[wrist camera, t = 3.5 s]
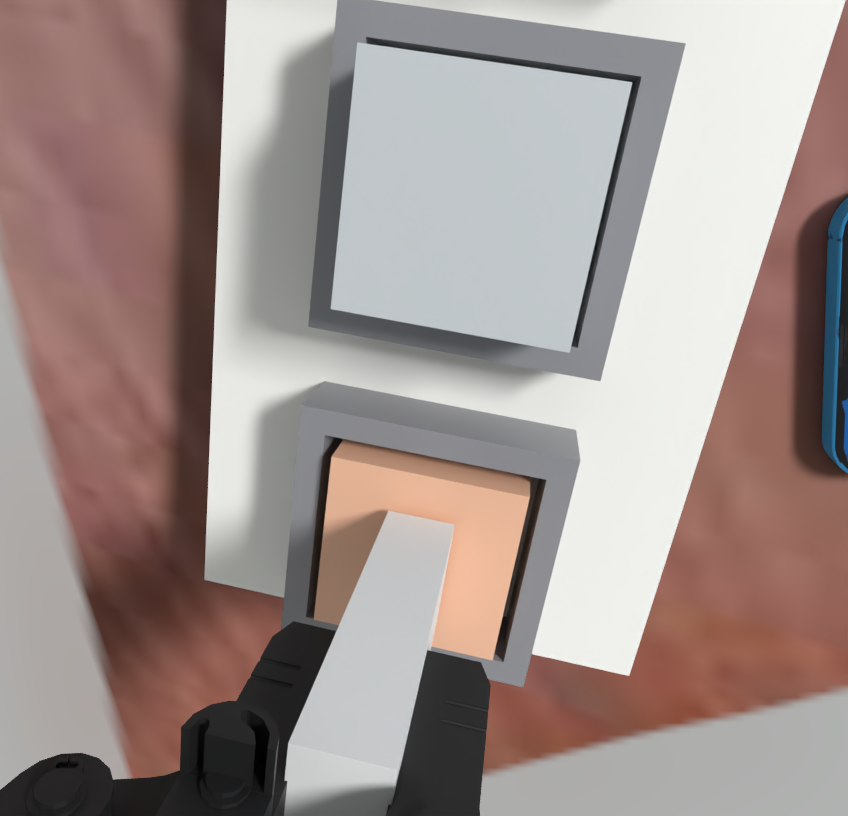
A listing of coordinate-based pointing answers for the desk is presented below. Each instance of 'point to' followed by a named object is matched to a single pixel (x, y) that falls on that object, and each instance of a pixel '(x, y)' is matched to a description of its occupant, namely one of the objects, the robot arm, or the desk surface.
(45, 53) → the desk surface
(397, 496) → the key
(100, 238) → the desk surface
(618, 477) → the white button panel
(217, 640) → the desk surface
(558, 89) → the middle key
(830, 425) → the smartphone
